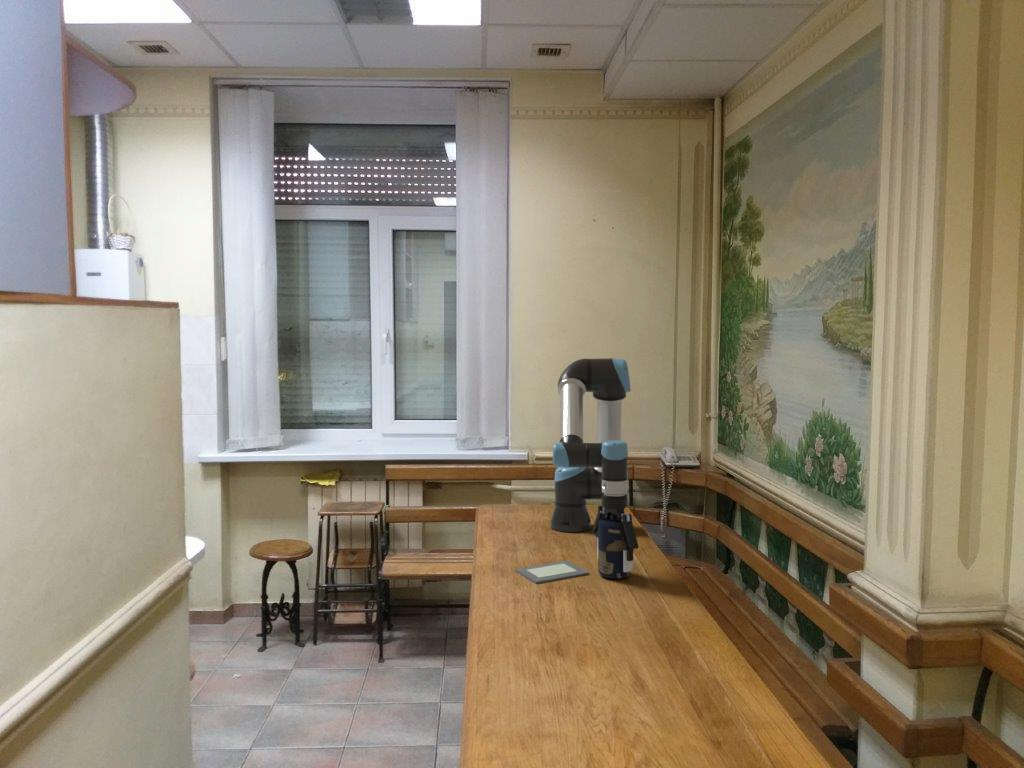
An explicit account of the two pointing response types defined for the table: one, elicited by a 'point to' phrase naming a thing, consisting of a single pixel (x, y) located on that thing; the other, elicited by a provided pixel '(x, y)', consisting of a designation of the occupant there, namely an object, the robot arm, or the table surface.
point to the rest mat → (551, 571)
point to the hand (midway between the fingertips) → (614, 564)
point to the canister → (610, 549)
